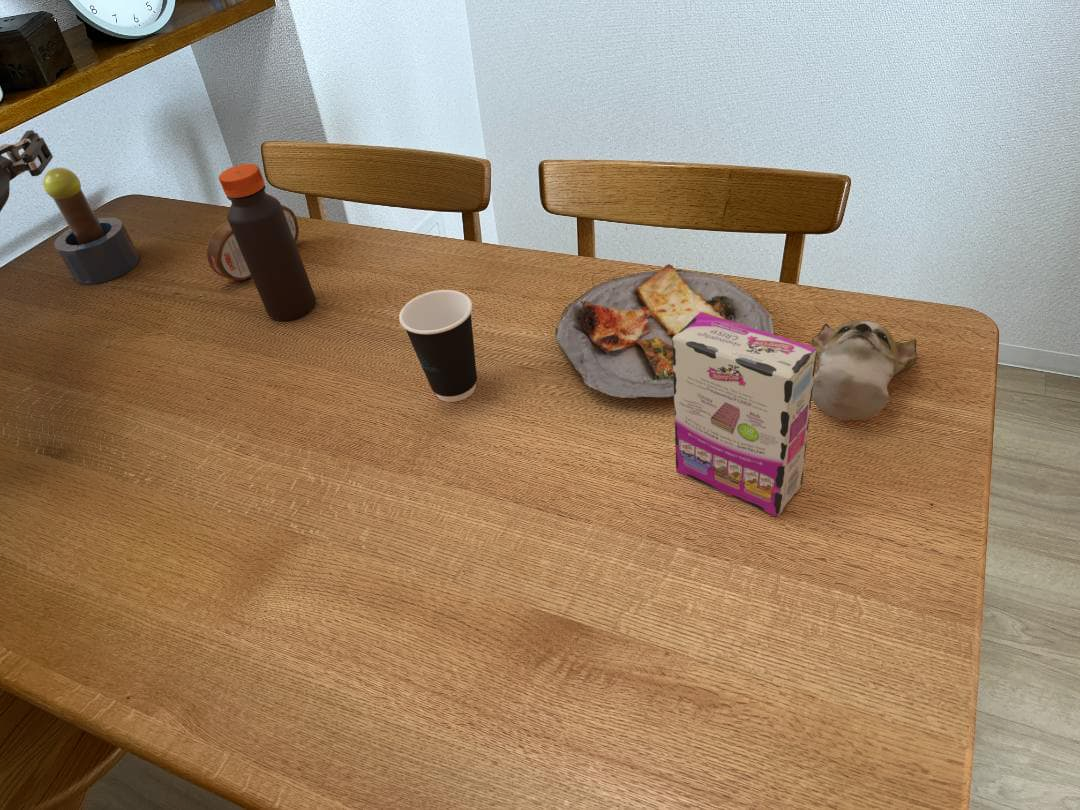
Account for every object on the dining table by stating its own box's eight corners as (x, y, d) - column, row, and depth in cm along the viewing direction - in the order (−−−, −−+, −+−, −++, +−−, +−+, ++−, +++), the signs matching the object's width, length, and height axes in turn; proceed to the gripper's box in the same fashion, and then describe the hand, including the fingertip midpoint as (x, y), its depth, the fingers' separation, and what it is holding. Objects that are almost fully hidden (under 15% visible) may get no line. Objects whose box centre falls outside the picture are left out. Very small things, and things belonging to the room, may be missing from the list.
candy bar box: (804, 485, 76) (821, 346, 65) (778, 519, 73) (792, 380, 62) (700, 441, 82) (700, 307, 71) (673, 471, 79) (669, 337, 68)
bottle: (327, 299, 112) (277, 163, 99) (293, 326, 108) (236, 188, 95) (292, 290, 115) (240, 157, 102) (257, 316, 111) (198, 181, 98)
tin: (295, 239, 127) (277, 189, 121) (309, 243, 125) (291, 193, 119) (218, 288, 118) (195, 237, 113) (231, 293, 116) (208, 241, 111)
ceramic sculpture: (791, 352, 76) (826, 277, 87) (782, 422, 82) (816, 344, 92) (911, 375, 72) (933, 293, 82) (894, 448, 77) (916, 363, 87)
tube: (98, 289, 122) (79, 255, 119) (61, 277, 127) (41, 243, 123) (152, 257, 128) (135, 223, 124) (114, 246, 133) (97, 213, 129)
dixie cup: (497, 368, 95) (481, 289, 88) (478, 413, 89) (459, 333, 82) (434, 365, 97) (413, 288, 90) (412, 409, 91) (387, 330, 84)
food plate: (533, 317, 102) (529, 293, 100) (698, 264, 106) (698, 241, 104) (614, 438, 84) (611, 412, 81) (809, 369, 88) (812, 343, 86)
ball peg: (102, 275, 125) (48, 178, 114) (84, 269, 127) (29, 174, 117) (128, 259, 128) (77, 164, 117) (110, 254, 130) (59, 160, 120)
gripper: (7, 154, 90) (41, 104, 102) (-127, 181, 88) (-76, 127, 100) (42, 215, 94) (71, 160, 107) (-84, 241, 93) (-41, 183, 105)
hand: (0, 144), depth 103 cm, fingers open, 8 cm apart
